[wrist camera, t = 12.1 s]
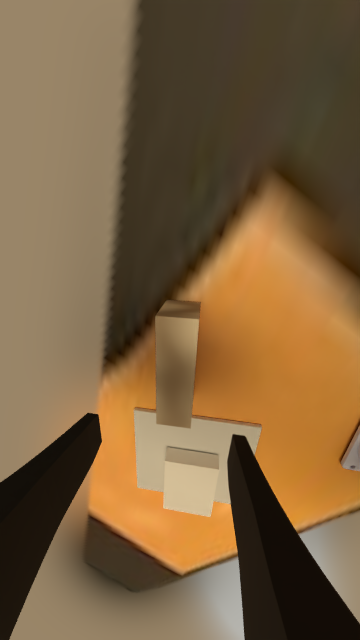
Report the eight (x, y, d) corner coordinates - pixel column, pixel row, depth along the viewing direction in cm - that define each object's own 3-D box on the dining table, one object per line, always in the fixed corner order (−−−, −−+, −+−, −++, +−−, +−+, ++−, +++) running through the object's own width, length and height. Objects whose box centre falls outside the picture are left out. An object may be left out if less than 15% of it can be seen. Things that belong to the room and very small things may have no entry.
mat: (260, 424, 21) (262, 427, 21) (240, 502, 26) (240, 505, 26) (135, 407, 22) (133, 410, 22) (138, 484, 27) (137, 487, 27)
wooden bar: (200, 301, 17) (199, 319, 13) (193, 392, 21) (190, 428, 17) (167, 299, 17) (155, 315, 13) (166, 388, 21) (156, 424, 17)
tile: (219, 469, 21) (210, 516, 24) (218, 453, 23) (210, 499, 26) (164, 460, 22) (163, 508, 25) (167, 445, 23) (166, 492, 26)
